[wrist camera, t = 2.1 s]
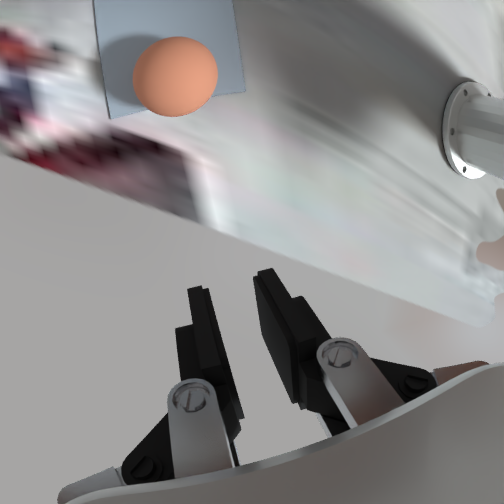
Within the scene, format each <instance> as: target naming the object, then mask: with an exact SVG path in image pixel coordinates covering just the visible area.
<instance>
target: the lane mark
mask: <svg viewBox="0 0 504 504" xmlns="http://www.w3.org/2000/svg"><path fill="white" fill-rule="evenodd" d="M94 6H95V17H96V26H97V35H98V43H99V51H100V58H101V65H102V71H103V78H104V84H105V90H106V95H107V101H108V106H109V112H110V117H111V119H114V118H118V117H121V116H125V115H129V114H133V113H136V112H140V111H144V110H148V109H147V108H146V107H145V106H144V105H143V104H142V103H141V102H140V101H139V99H138V97H137V96H136V93H135V91H134V87H133V71H134V67H135V64H136V62H137V60H138V58H139V57H140V55H141V54H142V53H143V52H144V51H145V50H146V49H147V48H148V47H149V46H151V45H152V44H153V43H155V42H157V41H159V40H162V39H165V38H168V37H178V36H181V37H188V38H191V39H194V40H196V41H198V42H200V43H202V44H203V45H204V46H206V47H207V48H208V49H209V51H210V52H211V53H212V55H213V57H214V58H215V61H216V64H217V68H218V80H217V84H216V87H215V90H214V92H213V94H212V95H211V97H212V96H218V95H224V94H231V93H238V92H245V91H246V90H245V83H244V76H243V69H242V62H241V55H240V48H239V42H238V35H237V28H236V22H235V15H234V9H233V2H232V0H94Z"/></svg>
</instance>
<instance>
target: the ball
mask: <svg viewBox="0 0 504 504" xmlns="http://www.w3.org/2000/svg"><path fill="white" fill-rule="evenodd" d="M217 80H218V68H217V64H216V61H215V58H214V57H213V55H212V53H211V52H210V51H209V49H208V48H207V47H206V46H204V45H203V44H202V43H200V42H198V41H196V40H194V39H191V38H188V37H181V36H178V37H168V38H165V39H162V40H159V41H157V42H155V43H153V44H152V45H151V46H149V47H148V48H147V49H146V50H145V51H144V52H143V53H142V54H141V55H140V57H139V58H138V60H137V62H136V64H135V67H134V71H133V87H134V91H135V93H136V96H137V97H138V99H139V101H140V102H141V103H142V104H143V105H144V106H145V107H146V108H147V109H149V110H150V111H152V112H154V113H156V114H159V115H162V116H169V117H177V116H183V115H186V114H189V113H191V112H194V111H195V110H197V109H199V108H200V107H201V106H203V105H204V104H205V103H206V102H207V101H208V99H209V98H210V97H211V95H212V94H213V92H214V90H215V87H216V84H217Z"/></svg>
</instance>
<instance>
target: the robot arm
mask: <svg viewBox="0 0 504 504" xmlns="http://www.w3.org/2000/svg"><path fill="white" fill-rule="evenodd" d="M443 143H444V148H445V153H446V156H447V158H448V161H449V163H450V165H451V167H452V168H453V169H454V170H455V172H456V173H458V174H459V175H461V176H463V177H465V178H468V179H477V178H480V177H482V176H483V175H484V174H485V173H488V174H490V175H493V176H495V177H498V178H500V179H502V180H504V99H501V98H495V97H493V95H492V93H491V92H490V91H489V90H488V89H487V88H486V87H485V86H484V85H482V84H480V83H477V82H464V83H462V84H460V85H459V86H458V87H457V88H456V89H454V91H453V92H452V94H451V95H450V97H449V100H448V102H447V104H446V108H445V112H444V118H443ZM253 282H254V288H255V294H256V301H257V307H258V314H259V320H260V326H261V332H262V336H263V339H264V341H265V343H266V346H267V348H268V350H269V353H270V355H271V357H272V359H273V362H274V364H275V366H276V368H277V371H278V373H279V375H280V377H281V380H282V382H283V384H284V386H285V389H286V391H287V393H288V395H289V398H290V400H291V402H292V403H293V404H294V403H297V402H298V404H299V407H300V409H301V410H303V409H307V410H309V411H312V412H316V416H317V418H318V420H319V422H320V424H321V426H322V427H323V429H324V431H325V433H326V435H327V437H328V439H325V440H323V441H320V442H317V443H314V444H311V445H309V446H306V447H303V448H300V449H297V450H294V451H291V452H287V453H284V454H281V455H278V456H275V457H271V458H268V459H264V460H261V461H257V462H253V463H250V464H246V465H242V466H241V463H240V460H239V456H238V452H237V448H236V445H235V441H234V439H235V437H236V436H237V435H238V433H239V432H240V431H241V426H240V422H239V419H243V418H244V414H243V410H242V407H241V404H240V401H239V397H238V393H237V390H236V386H235V383H234V379H233V376H232V372H231V369H230V365H229V362H228V358H227V355H226V351H225V348H224V344H223V341H222V337H221V334H220V330H219V326H218V322H217V319H216V315H215V311H214V308H213V304H212V301H211V296H210V292H209V289H208V288H206V289H202V286H197V287H193V288H189V289H187V291H188V297H189V304H190V310H191V315H192V322H193V324H192V325H187V326H183V327H179V328H176V329H175V333H176V343H177V352H178V361H179V368H180V377H181V382H180V383H178V384H176V385H175V386H174V387H173V388H172V389H171V391H170V392H169V394H168V399H167V405H168V413H167V414H166V415H165V416H164V417H163V418H162V420H161V421H160V422H159V423H158V424H157V425H156V426H155V427H154V428H153V429H152V430H151V432H150V433H149V434H148V435H147V436H146V437H145V438H144V439H143V440H142V441H141V442H140V443H139V444H138V445H137V447H136V448H135V449H134V450H133V451H132V452H131V453H130V454H129V455H128V456H127V457H126V459H125V460H124V462H123V464H122V466H120V467H118V468H116V469H115V468H114V467H111V468H108V469H106V470H104V471H101V472H99V473H97V474H94V475H92V476H90V477H87V478H85V479H82V480H80V481H77V482H75V483H72V484H70V485H67V486H66V487H64V488H62V490H61V491H60V493H59V495H58V499H57V501H58V504H504V363H494V364H489V363H487V362H484V361H474V362H469V363H464V364H459V365H454V366H449V367H442V368H436V369H433V372H430V373H429V372H428V371H426V370H424V369H421V368H417V367H412V366H407V365H402V364H397V363H392V362H388V361H383V360H378V359H374V358H370V357H369V356H368V355H367V353H366V352H365V351H364V350H363V348H361V346H360V345H359V344H358V343H357V342H356V341H353V340H351V339H348V338H333V339H332V338H331V337H330V335H329V334H328V332H327V331H326V329H325V328H324V326H323V325H322V323H321V322H320V320H319V319H318V317H317V316H316V314H315V313H314V312H313V310H312V309H311V307H310V306H309V304H308V303H307V301H306V300H305V299H304V297H303V296H298V297H295V298H291V296H290V294H289V293H288V291H287V290H286V288H285V287H284V285H283V283H282V282H281V281H280V279H279V277H278V276H277V274H276V272H275V271H274V269H273V268H270V269H266V270H262V271H258V276H254V277H253Z"/></svg>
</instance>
